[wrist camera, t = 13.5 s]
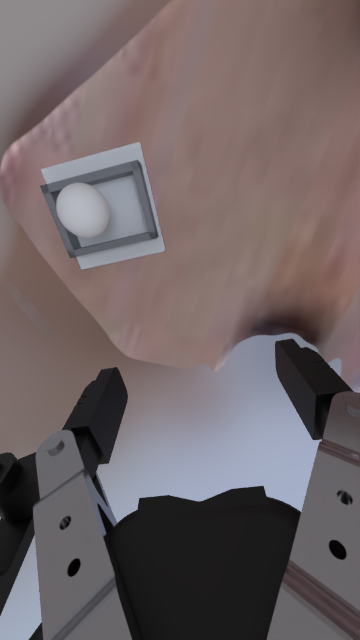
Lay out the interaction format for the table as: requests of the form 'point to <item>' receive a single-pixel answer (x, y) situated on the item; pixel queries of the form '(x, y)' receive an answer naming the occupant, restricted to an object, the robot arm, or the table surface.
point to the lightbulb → (83, 210)
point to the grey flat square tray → (123, 199)
